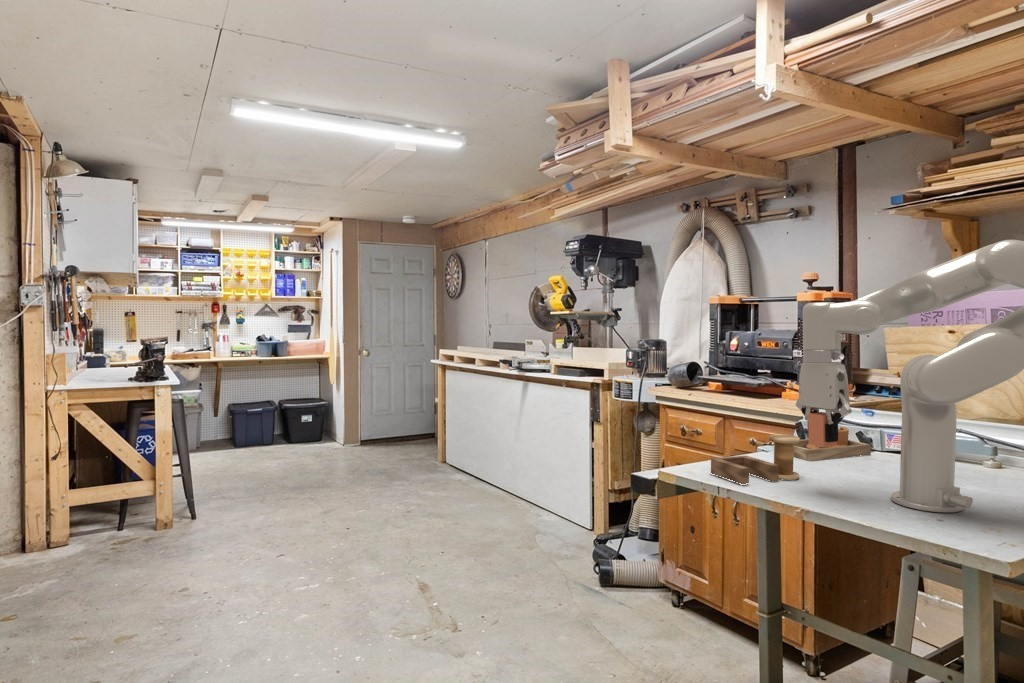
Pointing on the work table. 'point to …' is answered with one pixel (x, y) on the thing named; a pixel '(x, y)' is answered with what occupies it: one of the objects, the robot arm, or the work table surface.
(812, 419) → the tab
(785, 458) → the spool
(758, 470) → the notched board
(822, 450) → the frame
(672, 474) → the work table surface
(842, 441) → the bracket
